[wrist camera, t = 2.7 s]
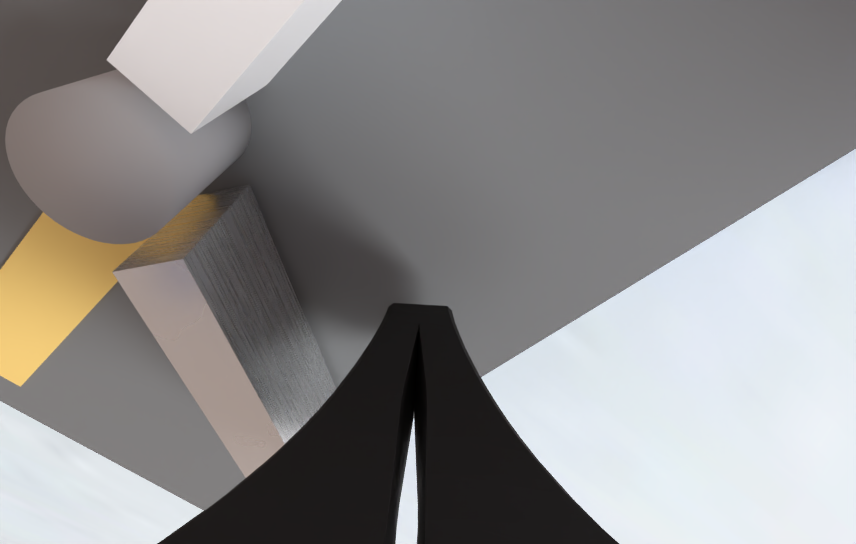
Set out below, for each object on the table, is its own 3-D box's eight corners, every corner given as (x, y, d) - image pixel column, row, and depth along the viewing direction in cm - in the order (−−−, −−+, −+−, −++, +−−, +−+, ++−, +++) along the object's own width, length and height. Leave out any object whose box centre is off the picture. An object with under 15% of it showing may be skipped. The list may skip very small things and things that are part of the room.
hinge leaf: (195, 195, 10) (112, 272, 7) (249, 184, 10) (182, 259, 7) (317, 441, 14) (289, 546, 11) (356, 436, 14) (338, 541, 11)
